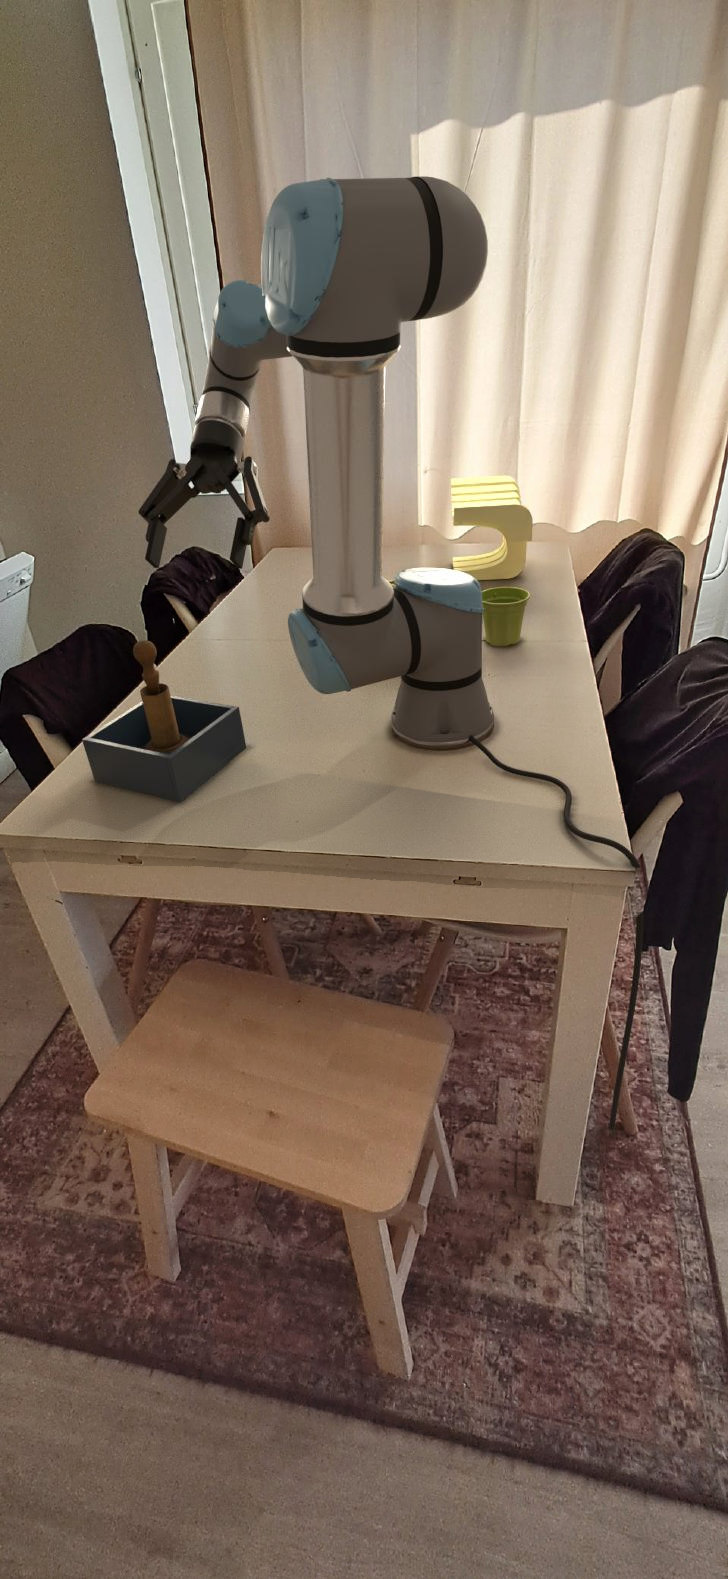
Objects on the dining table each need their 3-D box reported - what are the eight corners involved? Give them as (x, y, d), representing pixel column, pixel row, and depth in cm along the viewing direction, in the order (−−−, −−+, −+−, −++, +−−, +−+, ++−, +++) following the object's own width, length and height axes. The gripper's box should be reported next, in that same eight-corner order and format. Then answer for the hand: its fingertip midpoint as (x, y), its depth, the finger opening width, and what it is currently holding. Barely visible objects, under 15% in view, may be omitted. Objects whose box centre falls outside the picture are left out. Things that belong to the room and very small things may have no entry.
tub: (246, 747, 114) (239, 706, 110) (180, 802, 102) (170, 758, 99) (165, 731, 120) (155, 692, 117) (94, 781, 109) (81, 739, 105)
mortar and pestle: (182, 771, 108) (154, 651, 98) (140, 769, 109) (108, 651, 99) (200, 748, 113) (174, 632, 104) (160, 746, 115) (131, 632, 105)
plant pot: (470, 648, 139) (470, 602, 135) (484, 629, 146) (484, 585, 142) (522, 652, 136) (523, 605, 131) (533, 633, 143) (535, 587, 138)
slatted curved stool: (529, 589, 164) (533, 503, 155) (455, 593, 166) (453, 508, 156) (516, 550, 189) (519, 474, 180) (452, 554, 191) (451, 478, 181)
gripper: (305, 447, 115) (282, 577, 111) (159, 452, 122) (132, 575, 118) (288, 412, 108) (262, 550, 104) (133, 421, 115) (104, 550, 111)
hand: (193, 564), depth 111 cm, fingers open, 13 cm apart
